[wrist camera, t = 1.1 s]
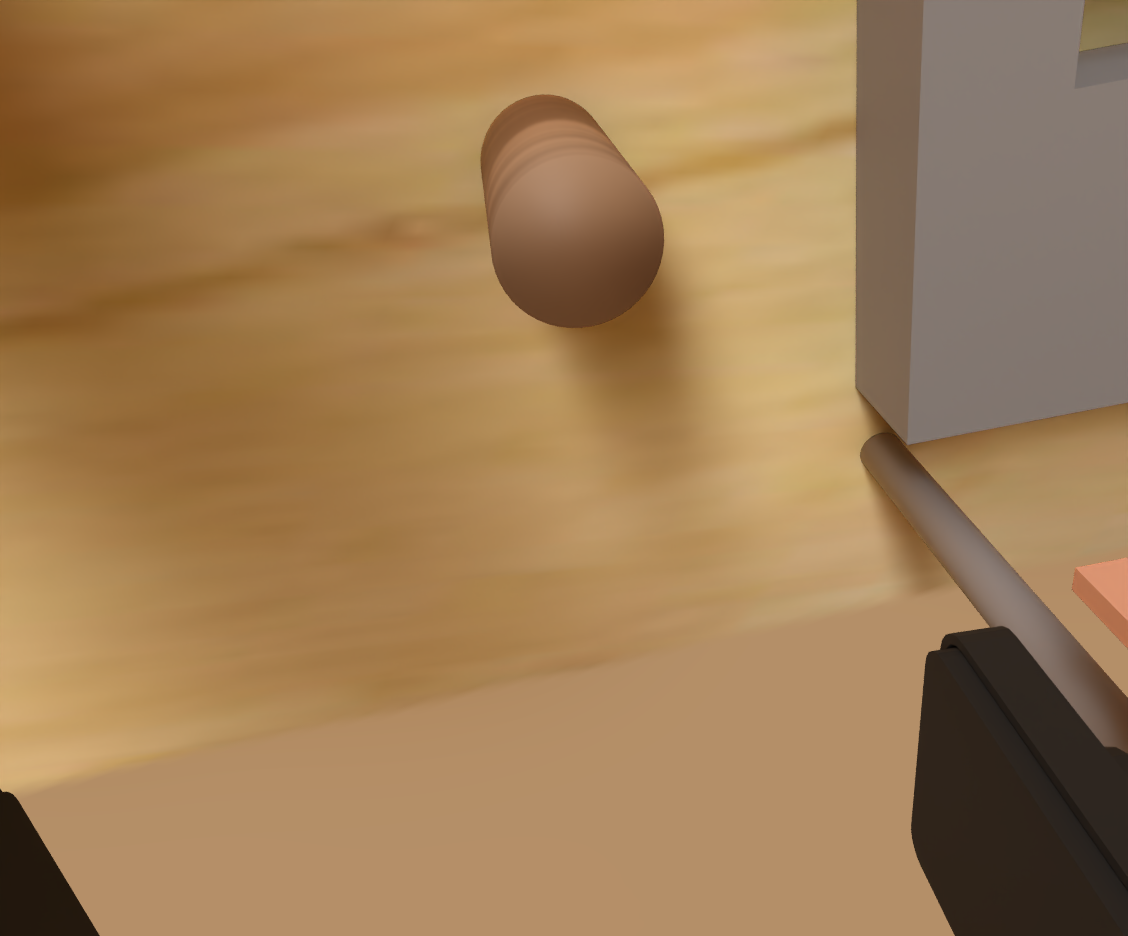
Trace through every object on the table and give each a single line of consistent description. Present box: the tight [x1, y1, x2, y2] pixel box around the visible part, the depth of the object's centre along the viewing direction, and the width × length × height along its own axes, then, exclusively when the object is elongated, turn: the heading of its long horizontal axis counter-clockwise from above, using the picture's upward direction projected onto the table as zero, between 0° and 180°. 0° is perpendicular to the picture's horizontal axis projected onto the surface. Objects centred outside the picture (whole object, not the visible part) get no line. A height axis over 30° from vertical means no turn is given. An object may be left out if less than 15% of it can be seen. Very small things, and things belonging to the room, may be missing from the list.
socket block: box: [856, 0, 1128, 445], centre depth 27 cm, size 20×14×4 cm
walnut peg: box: [481, 95, 664, 328], centre depth 25 cm, size 4×4×9 cm
